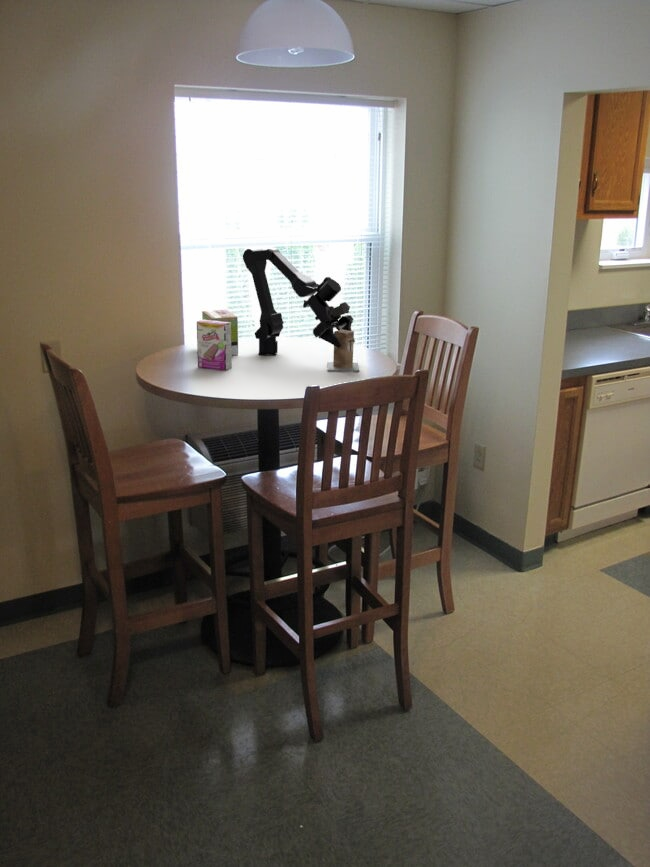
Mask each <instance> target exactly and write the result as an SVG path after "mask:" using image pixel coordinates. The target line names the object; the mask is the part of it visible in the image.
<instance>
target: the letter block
mask: <svg viewBox="0 0 650 867" xmlns="http://www.w3.org/2000/svg"><path fill="white" fill-rule="evenodd" d="M333 333H334V334H335V336H336V338H337V339H338V341H339V343H340V345H341V347H340V348H338V347H336V346H334V345H333V359H332V360H333V361H332V362H333V366H334V367H339V368H344V369H346V368H348V367H351V366H353V363H354V343H355V342H354V340H355V331H353V330H352V331H349V330H335V331H333Z"/></svg>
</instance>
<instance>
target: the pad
mask: <svg viewBox="0 0 650 867" xmlns="http://www.w3.org/2000/svg"><path fill="white" fill-rule="evenodd" d="M327 372H337V373H338V372H341V373H343V372H344V373H345V372H346V373H359V372H360V367H359V362H353V366H351V367H348V368H346V369H344V368H339V367H334V366H333V361H332V362H331V361H327Z"/></svg>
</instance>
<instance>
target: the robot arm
mask: <svg viewBox="0 0 650 867" xmlns="http://www.w3.org/2000/svg"><path fill="white" fill-rule="evenodd" d="M242 259H243V260H242V261H243V262H244V265H245V267H246V269H247V270H248V271H249V273H250V274H251V275H252V277H251V278H252V280H253V281H252V282H253V283H254V284H253V285H254V287H255V292H256V296H257V297H256V298H257V300H258V305H259V307H260V308H259V310H260V316H259V328H258V329H257V330H255V332H254V336H255V339H256V340H257V339H258V355H259V356H276V355H277V353H278V352H279V350H278V348H279V347H278V340H277V338H278V337H280V335H281V332H282V331H283V329H284V320H283V316H282V313H281V312H277V310H276V309H275V307H274V303H273V300H272V294H271V291H270V286H269V282H268V279H267V278H268V277H267V274H266V268H267V261H269V262H270V263H272V264H273V266H274V267H275V268H276V269H277V270H278V271H279V272H280V273H281V274H282V275H283V276H284V277H285V279H287V280H288V281H289V283H290V284H291V289H293V291H294V293H295V294H296V295H297V296H298V297H300V298H306V299H303V305H302V307H303V309H304V308H305V309H306V308H309V307H310V308H309V309H311V311H312V312H313V313H314V315H315V317H314V320H316V321H319V323H318V324H317V325H316V326H315V327H314V328H313V329H312V334H313V336H314V337H315V338H318V339H321V340H323V341H325V342H328V343H329V344H331V345H333V347H334V346H336V347H338V348H340V347H341V345H340V343H339V341H338V339H337V338H336V336H335V334H334V329H336V331H338V330H349V331H353V329H352V324H353V323H354V322H353V321H354V318H353V317H352V315H351V314H349V313H350V308H351V306H350V304H348V303H347V302H346V301H344V302H340V304H339V305H338V306H332V305H329V303H327V302H331V301H332V300H333V299H334V298H335V297H337V295H338V294H339V293H340V292H341V290H342V288H341V285H340V283H339V282H337V281H336V280H334V279H333V278H331V277H330V276H325V277H324V279H323V280H322V282H321V283H317V282H316V281H315V280H314V279H312V277H309V276H308V275H306V274H303V273H302V272H300V270H298V269H297V268H296V267H295V266H294V265H293V264H292V263H291V262H290V261H289V260H288V259H287V258H286V257H285V256H284V255H283V254H282V253H281V252H280V249H278V248H276V247H274V248H268V249H263V248H261V247H255V248H254V247H253V248H247V249H245V250H244V252H243V253H242ZM307 297H308V298H307ZM345 314H346V315H345ZM355 342H356V341H355V339H354V343H355Z"/></svg>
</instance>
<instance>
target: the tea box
mask: <svg viewBox="0 0 650 867" xmlns="http://www.w3.org/2000/svg"><path fill="white" fill-rule="evenodd" d="M201 313H202V314H201V316H202V317H201V318H202V319H201V320H203V319H204V320H213V321H222V322H231V354H232V356H238V355H239V333H238V332H239V331H238V330H239V329H238V328H239V327H238V323H239V322H238V320H239V319H238V316H237V315H235V314H234V313H232V312H230V311H229V310H227V309H216V310H215V309H213V310H202V311H201Z"/></svg>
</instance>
